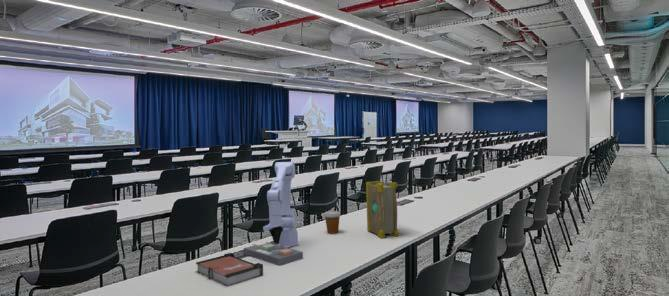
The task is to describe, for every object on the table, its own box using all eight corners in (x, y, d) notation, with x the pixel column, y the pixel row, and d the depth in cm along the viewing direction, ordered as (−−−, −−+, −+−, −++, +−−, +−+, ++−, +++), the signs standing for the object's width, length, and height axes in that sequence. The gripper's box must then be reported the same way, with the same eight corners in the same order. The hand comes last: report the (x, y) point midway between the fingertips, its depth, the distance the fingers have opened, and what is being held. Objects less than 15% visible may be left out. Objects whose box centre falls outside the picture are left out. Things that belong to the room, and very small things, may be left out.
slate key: (277, 253, 201) (277, 249, 201) (283, 255, 198) (283, 250, 198) (269, 255, 198) (269, 251, 198) (275, 257, 195) (275, 253, 194)
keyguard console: (266, 247, 215) (266, 241, 215) (302, 258, 196) (302, 251, 195) (243, 254, 205) (243, 247, 205) (279, 265, 185) (279, 258, 185)
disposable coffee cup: (327, 235, 237) (326, 214, 237) (323, 231, 246) (322, 211, 246) (342, 233, 240) (342, 213, 239) (338, 230, 249) (337, 210, 249)
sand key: (261, 245, 210) (261, 241, 210) (267, 247, 207) (267, 243, 207) (253, 247, 207) (253, 243, 207) (259, 249, 203) (259, 245, 203)
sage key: (269, 248, 206) (269, 243, 206) (275, 249, 202) (275, 245, 202) (261, 250, 202) (261, 245, 202) (267, 251, 199) (267, 247, 199)
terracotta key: (286, 252, 197) (285, 248, 197) (292, 254, 193) (292, 250, 193) (278, 255, 193) (277, 250, 193) (284, 257, 190) (284, 252, 190)
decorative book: (366, 231, 244) (364, 180, 243) (382, 229, 248) (381, 179, 247) (382, 239, 225) (380, 184, 224) (399, 236, 229) (398, 182, 228)
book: (194, 273, 180) (194, 261, 180) (230, 263, 192) (230, 252, 192) (225, 288, 162) (225, 275, 161) (263, 276, 174) (262, 264, 174)
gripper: (279, 211, 205) (280, 238, 206) (258, 216, 194) (259, 245, 194) (290, 212, 201) (291, 240, 202) (268, 218, 190) (270, 247, 190)
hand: (276, 242), depth 198 cm, fingers closed
